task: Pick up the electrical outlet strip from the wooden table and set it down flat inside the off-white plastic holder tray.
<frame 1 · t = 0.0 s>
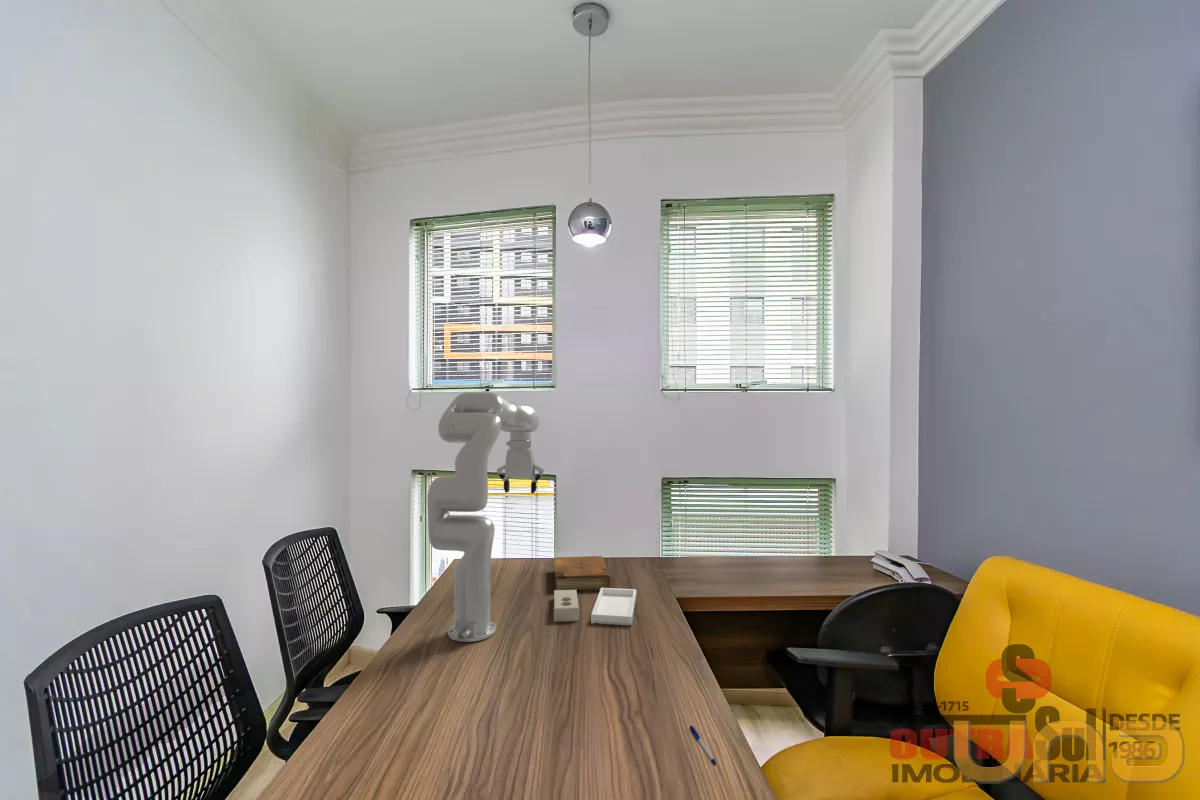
hand: (520, 492, 184), 31 cm above the table, tool pointing down, fingers open, 9 cm apart
diary: (580, 581, 184), on the table
electrical outlet: (565, 611, 156), on the table
ballpoint pen: (702, 747, 92), on the table
holder tray: (615, 609, 156), on the table
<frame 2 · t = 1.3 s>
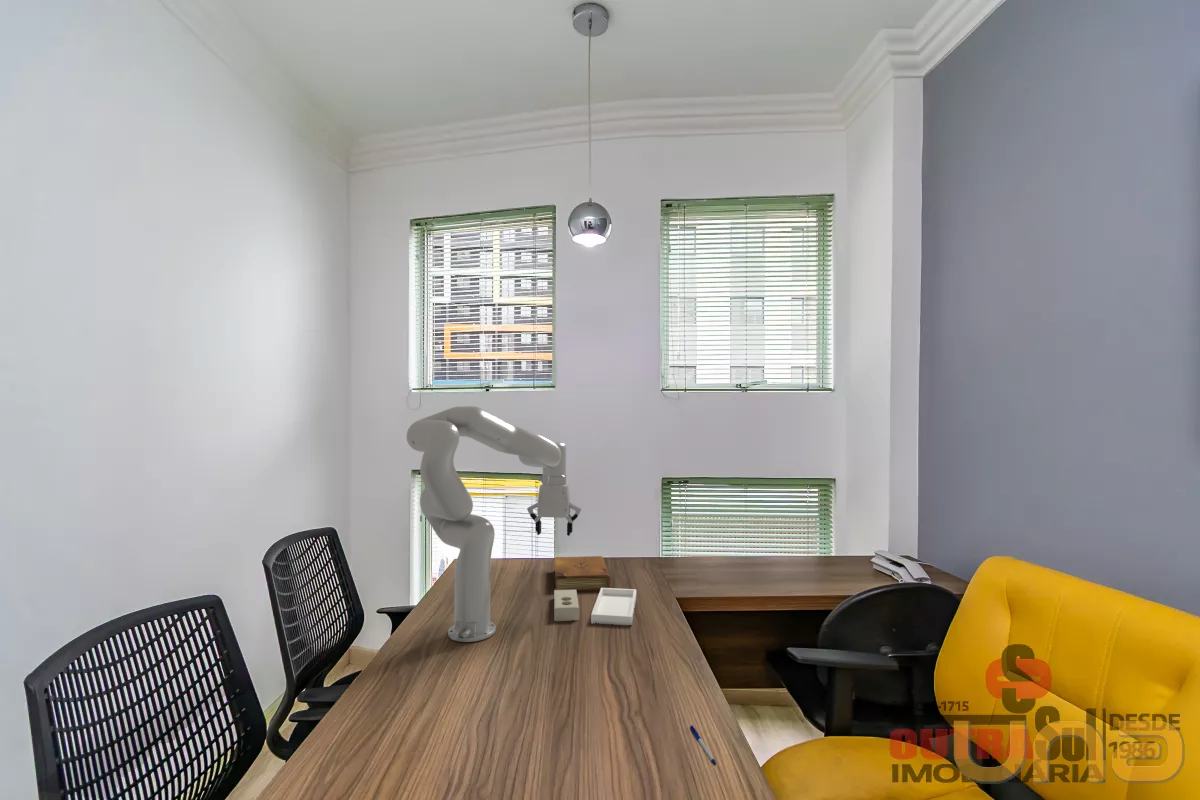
hand: (553, 534, 163), 21 cm above the table, tool pointing down, fingers open, 9 cm apart
nothing on the table moved.
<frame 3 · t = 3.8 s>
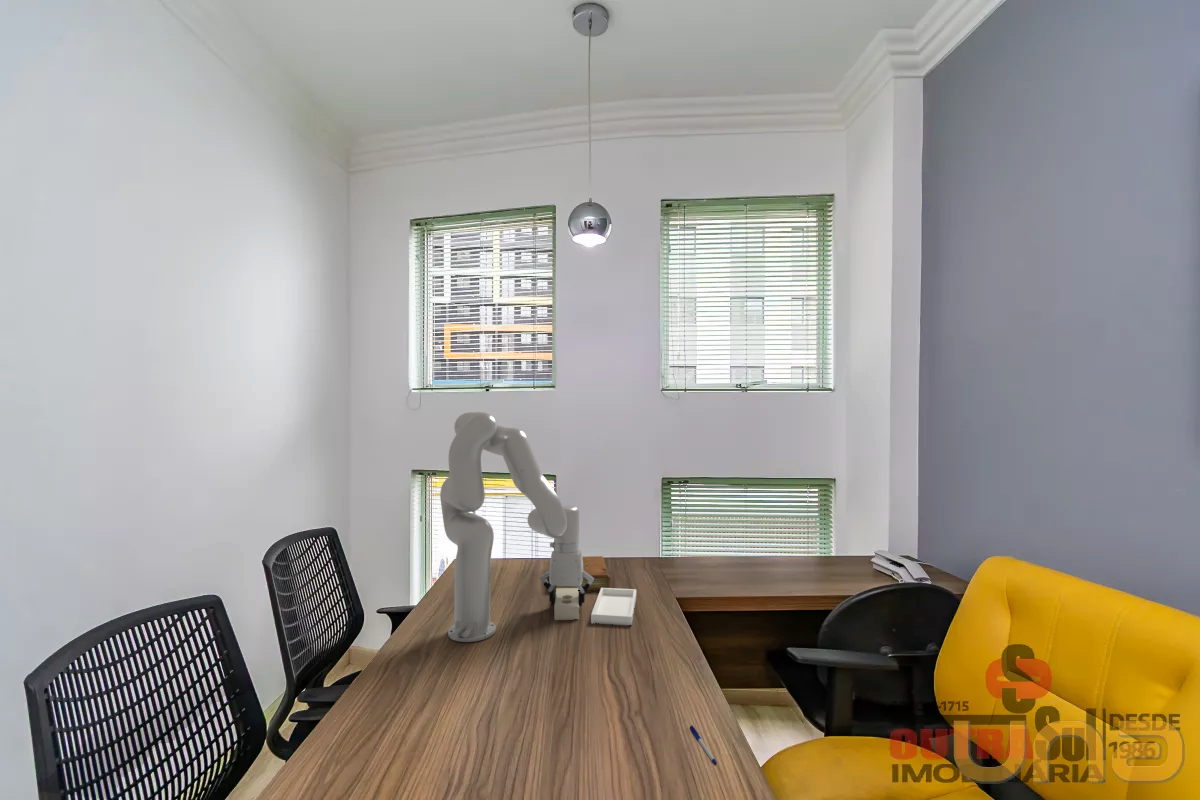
hand: (567, 604, 156), 1 cm above the table, tool pointing down, fingers closed on electrical outlet, 8 cm apart
electrical outlet: (567, 609, 157), on the table, touching gripper
everything else where it was.
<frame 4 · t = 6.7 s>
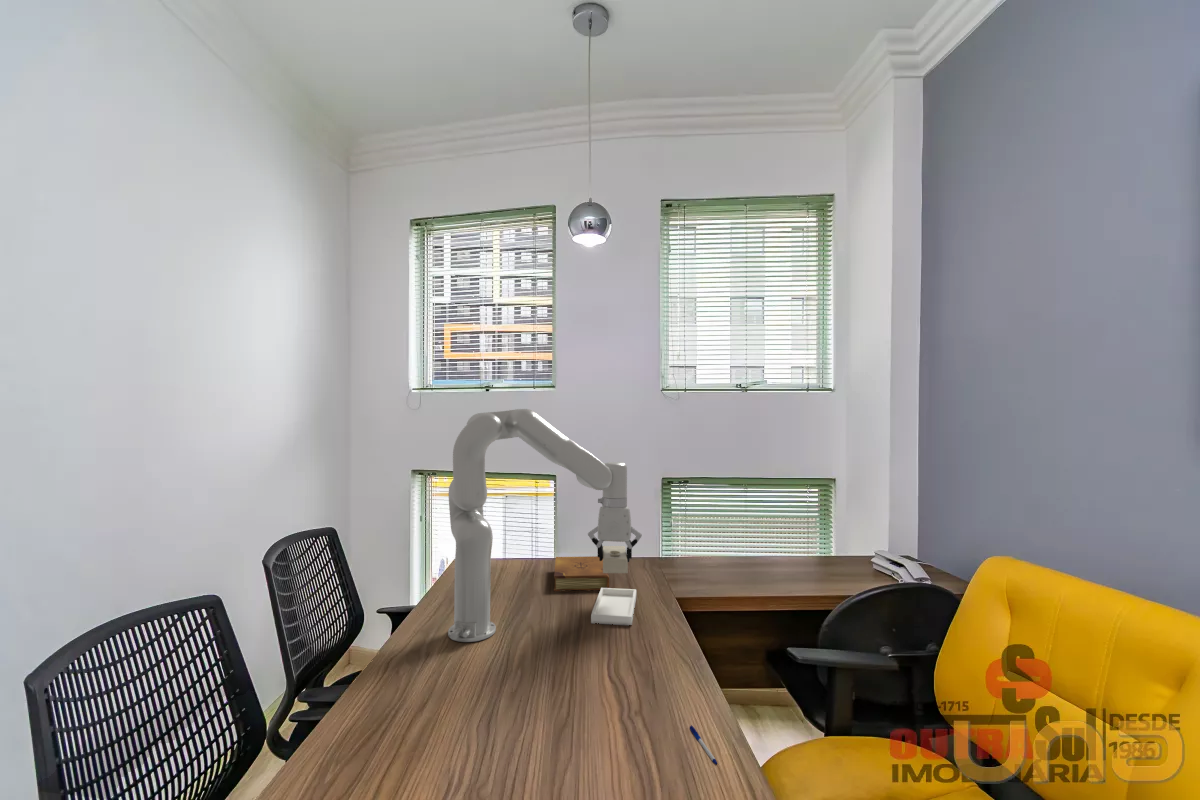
hand: (614, 560, 156), 15 cm above the table, tool pointing down, fingers closed on electrical outlet, 7 cm apart
electrical outlet: (614, 564, 157), point 13 cm above the table, touching gripper
everything else where it was.
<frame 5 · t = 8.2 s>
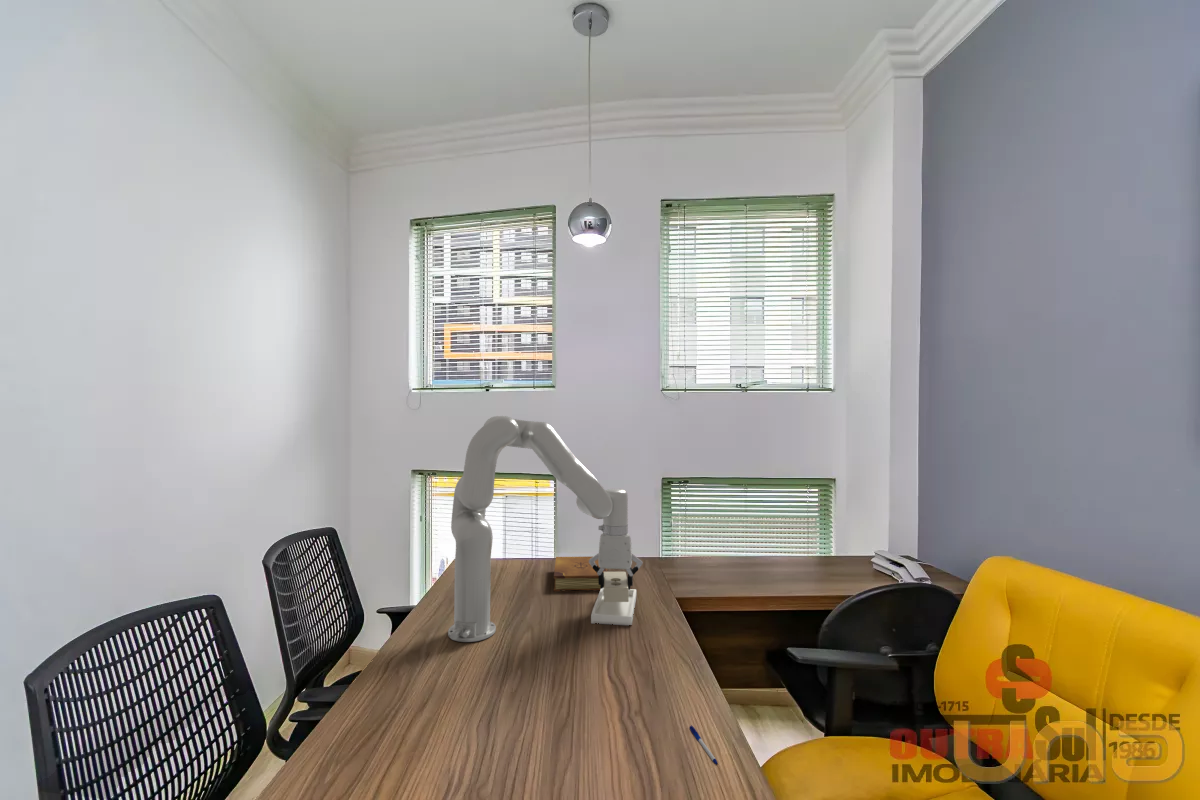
hand: (615, 587, 156), 7 cm above the table, tool pointing down, fingers closed on electrical outlet, 7 cm apart
electrical outlet: (615, 591, 157), point 5 cm above the table, touching gripper
everything else where it was.
when the fingers open (3 cm above the table, at t = 9.5 s): electrical outlet stays where it is, resting on holder tray.
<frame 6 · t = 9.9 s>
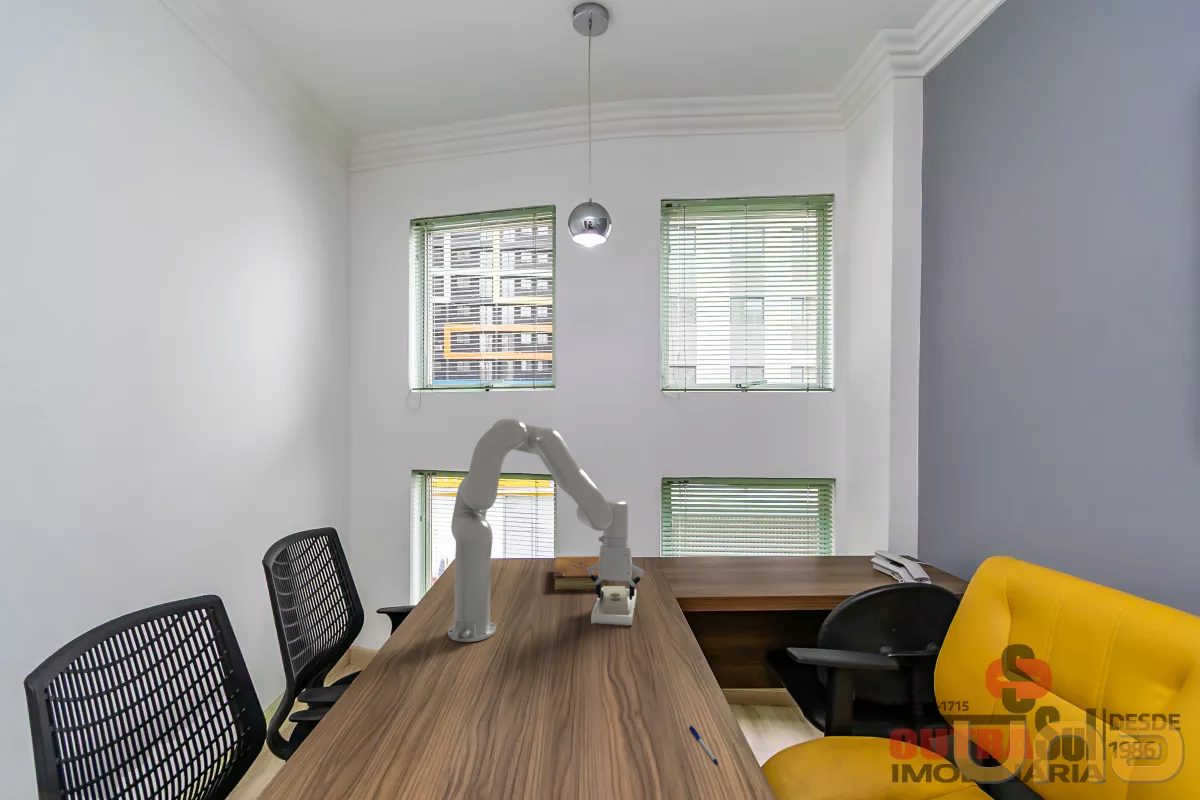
hand: (615, 597, 156), 4 cm above the table, tool pointing down, fingers open, 9 cm apart
electrical outlet: (614, 606, 157), resting on holder tray
everything else where it was.
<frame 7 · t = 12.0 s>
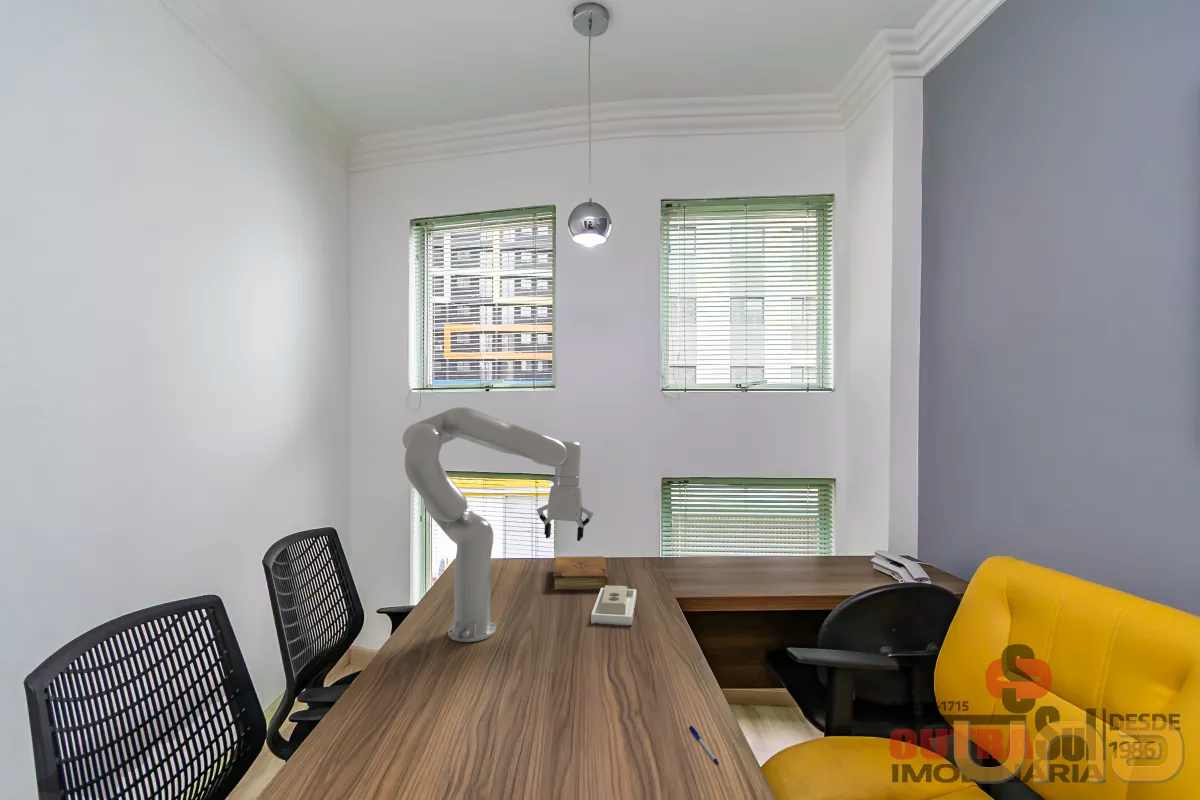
hand: (563, 538, 154), 22 cm above the table, tool pointing down, fingers open, 9 cm apart
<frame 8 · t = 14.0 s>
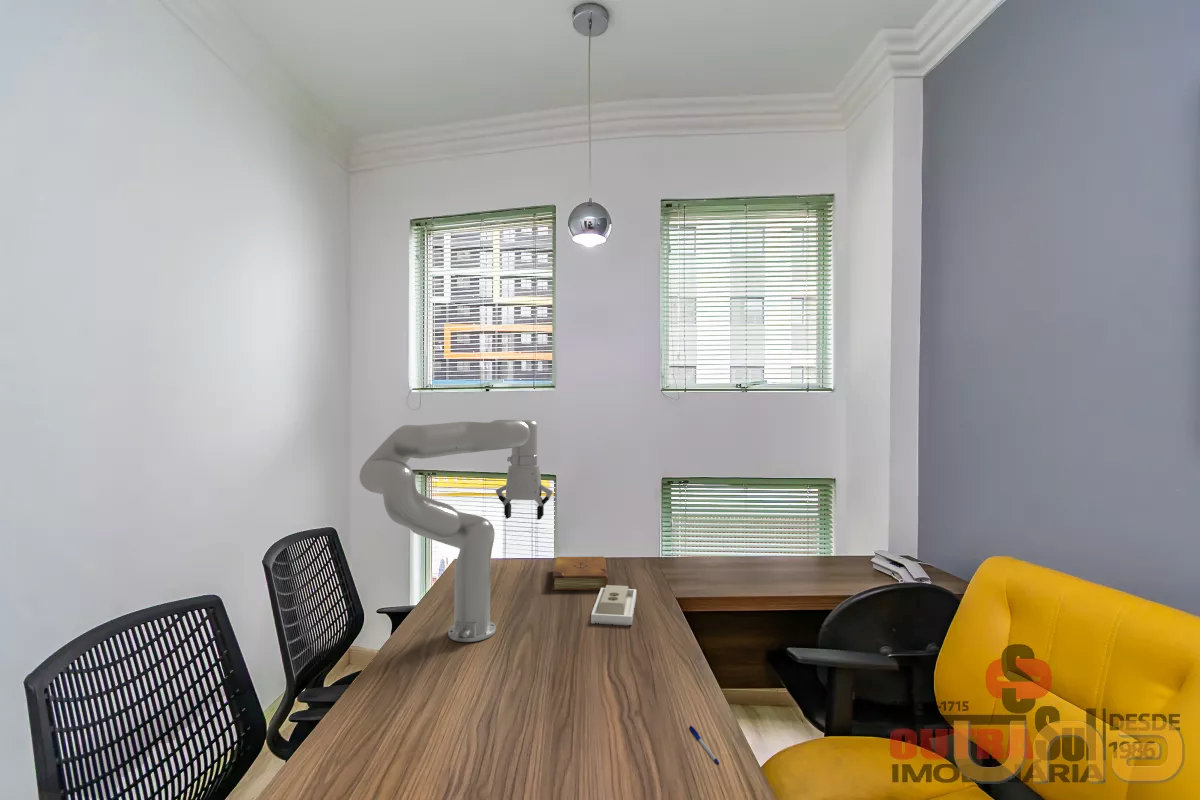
hand: (523, 518, 153), 28 cm above the table, tool pointing down, fingers open, 9 cm apart
nothing on the table moved.
at the end: electrical outlet 1.6 cm off-centre on the holder tray, point 0.4 cm above the holder tray's base; electrical outlet tilted 0°; the gripper is holding nothing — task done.
